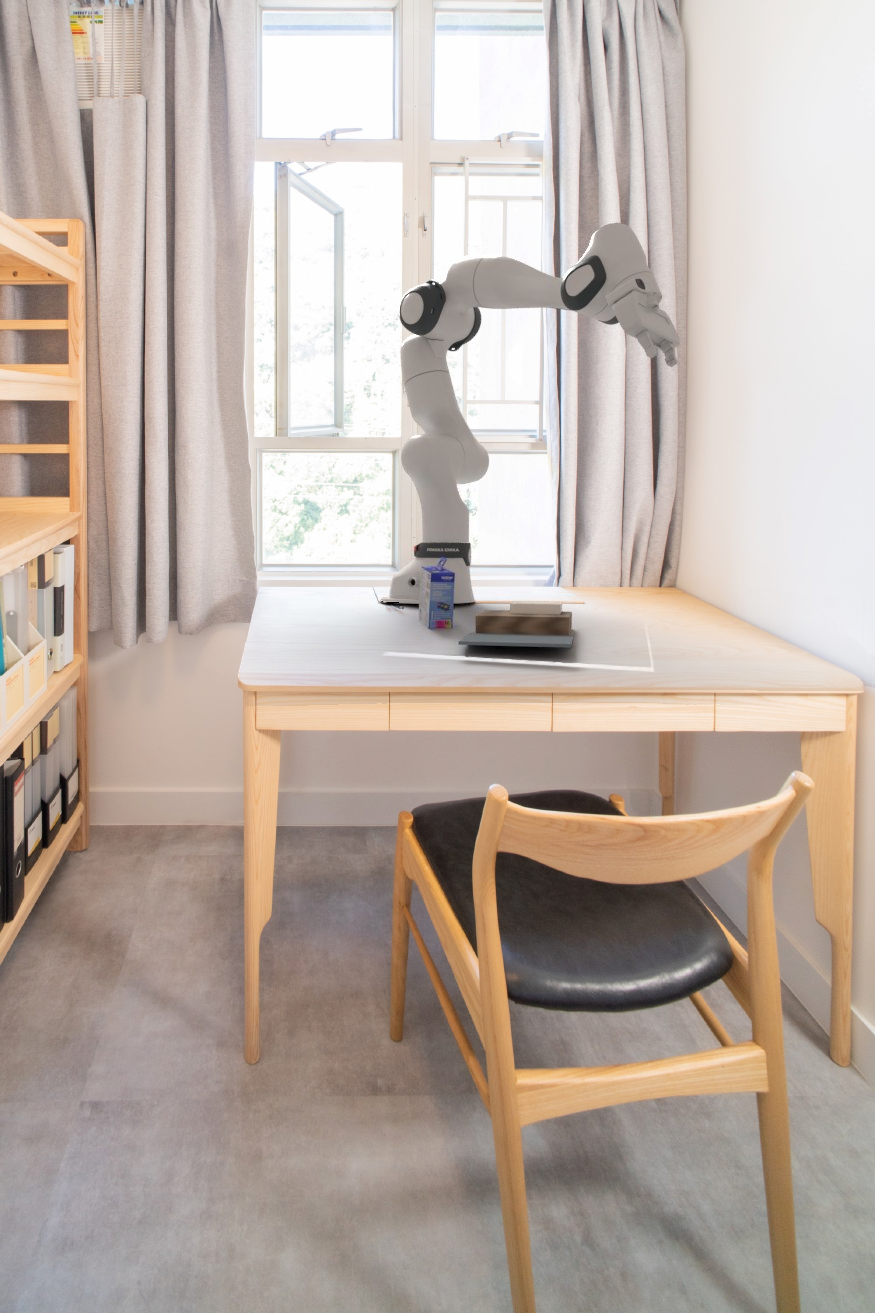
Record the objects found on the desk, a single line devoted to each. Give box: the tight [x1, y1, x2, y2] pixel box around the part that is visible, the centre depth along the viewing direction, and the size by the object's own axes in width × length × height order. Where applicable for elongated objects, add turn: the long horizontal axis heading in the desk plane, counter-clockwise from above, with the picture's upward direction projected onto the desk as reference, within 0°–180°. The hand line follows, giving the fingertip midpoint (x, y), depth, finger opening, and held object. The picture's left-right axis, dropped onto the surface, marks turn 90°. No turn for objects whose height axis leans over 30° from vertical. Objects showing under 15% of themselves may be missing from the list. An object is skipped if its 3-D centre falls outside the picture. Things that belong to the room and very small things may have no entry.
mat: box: [457, 632, 575, 648], centre depth 175 cm, size 20×15×1 cm
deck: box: [474, 609, 573, 635], centre depth 189 cm, size 18×14×4 cm
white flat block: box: [509, 600, 563, 614], centre depth 191 cm, size 10×7×2 cm
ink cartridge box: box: [418, 557, 455, 630], centre depth 196 cm, size 10×6×14 cm, turn 14°
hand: (663, 360), depth 184 cm, fingers open, 8 cm apart
